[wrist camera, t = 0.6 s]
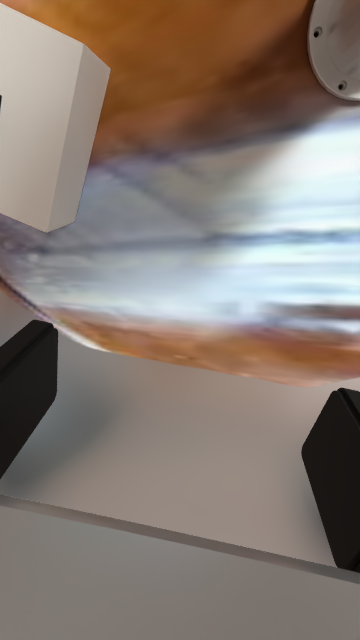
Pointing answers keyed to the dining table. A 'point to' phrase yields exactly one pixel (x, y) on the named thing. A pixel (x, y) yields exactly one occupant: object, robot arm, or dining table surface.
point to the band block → (45, 120)
